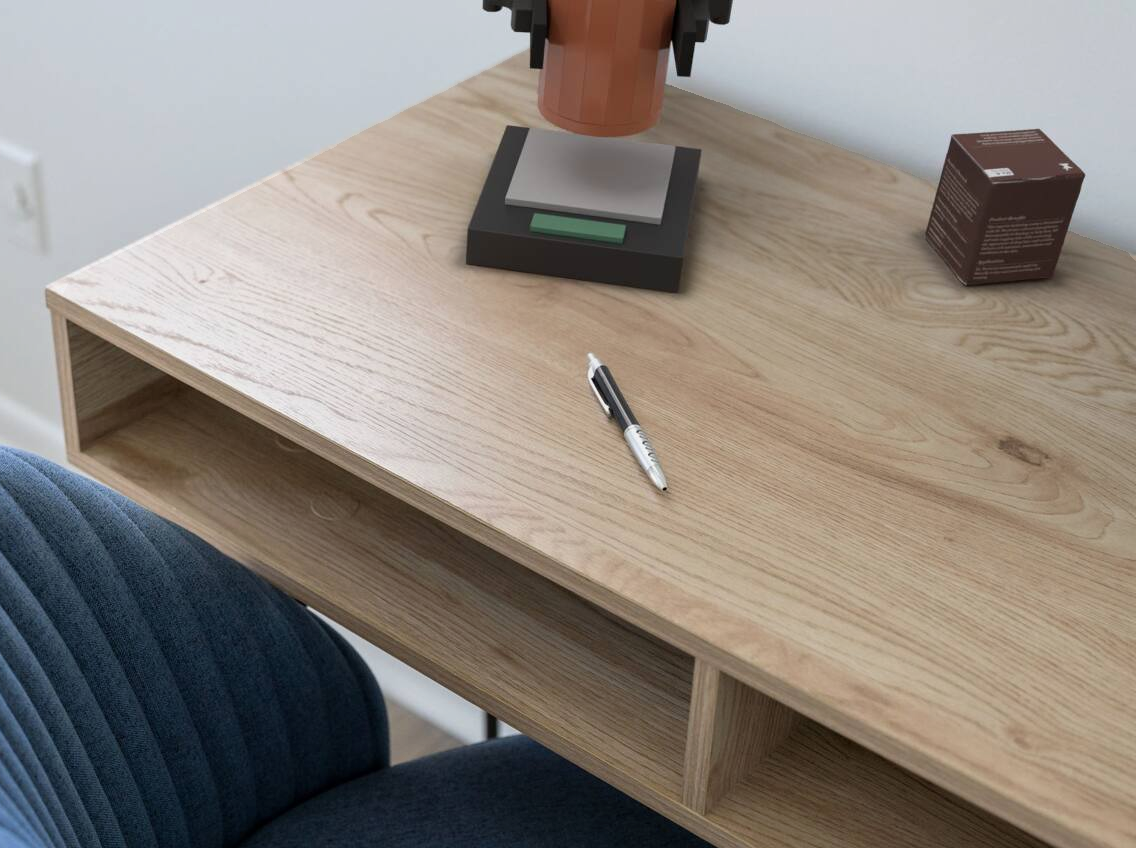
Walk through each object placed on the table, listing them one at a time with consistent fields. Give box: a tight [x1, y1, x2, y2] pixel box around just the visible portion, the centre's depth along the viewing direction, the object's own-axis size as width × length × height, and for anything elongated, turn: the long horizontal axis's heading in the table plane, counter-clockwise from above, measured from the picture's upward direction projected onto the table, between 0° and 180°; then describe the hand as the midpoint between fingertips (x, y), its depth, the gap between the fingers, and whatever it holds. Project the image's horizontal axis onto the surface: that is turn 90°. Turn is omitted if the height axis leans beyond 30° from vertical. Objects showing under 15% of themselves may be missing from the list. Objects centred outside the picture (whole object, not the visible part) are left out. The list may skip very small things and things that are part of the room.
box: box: [924, 128, 1086, 286], centre depth 99 cm, size 6×6×7 cm
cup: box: [537, 0, 677, 138], centre depth 96 cm, size 8×8×10 cm
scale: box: [465, 124, 703, 294], centre depth 102 cm, size 13×14×3 cm
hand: (612, 50), depth 92 cm, fingers closed on cup, 8 cm apart
